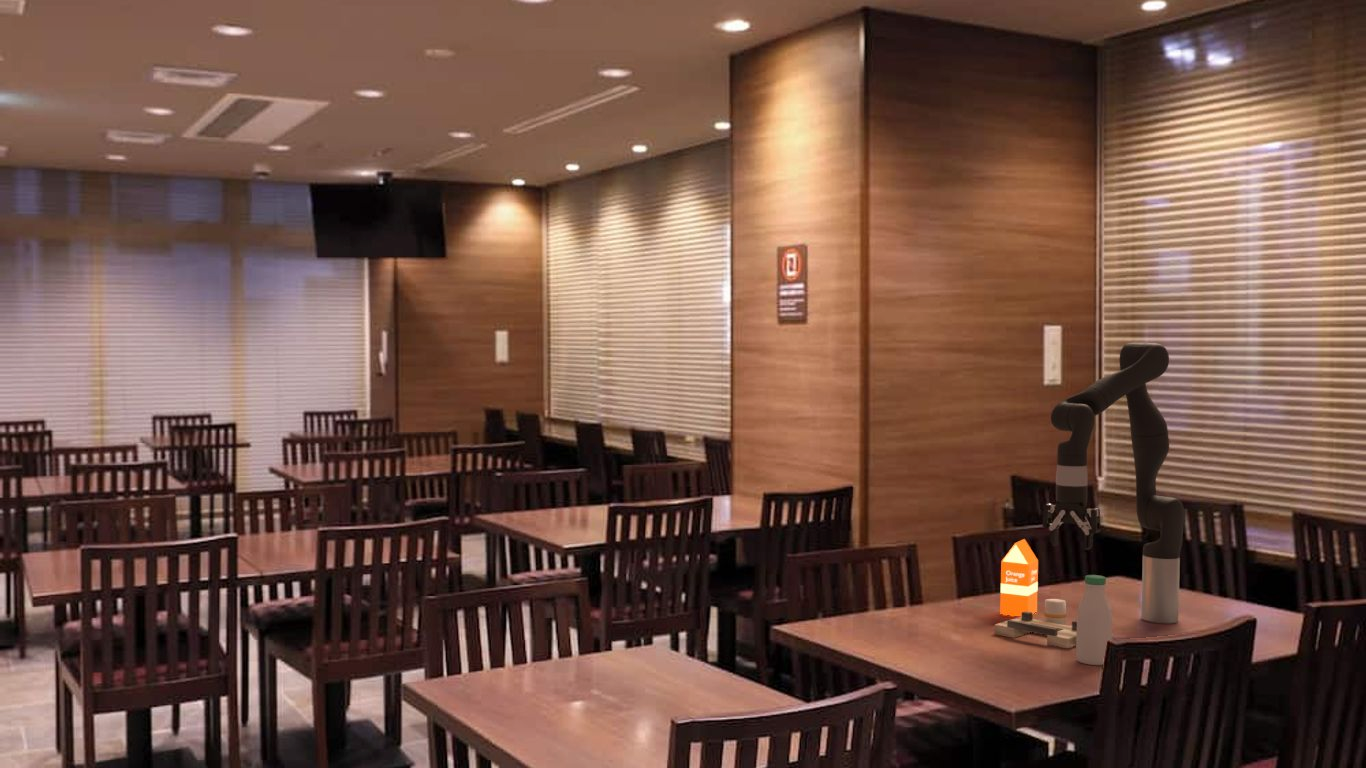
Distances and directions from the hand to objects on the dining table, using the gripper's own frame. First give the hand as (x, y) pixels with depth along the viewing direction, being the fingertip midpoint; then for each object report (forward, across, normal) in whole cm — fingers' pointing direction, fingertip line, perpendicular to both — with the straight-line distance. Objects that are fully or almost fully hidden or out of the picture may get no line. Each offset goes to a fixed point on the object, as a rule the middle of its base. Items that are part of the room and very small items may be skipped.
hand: (1070, 547), depth 304 cm
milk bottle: (+23, -15, +18) cm, 33 cm away
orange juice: (+23, +22, -16) cm, 36 cm away
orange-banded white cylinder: (+23, +8, -7) cm, 25 cm away
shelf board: (+23, +5, +4) cm, 24 cm away
